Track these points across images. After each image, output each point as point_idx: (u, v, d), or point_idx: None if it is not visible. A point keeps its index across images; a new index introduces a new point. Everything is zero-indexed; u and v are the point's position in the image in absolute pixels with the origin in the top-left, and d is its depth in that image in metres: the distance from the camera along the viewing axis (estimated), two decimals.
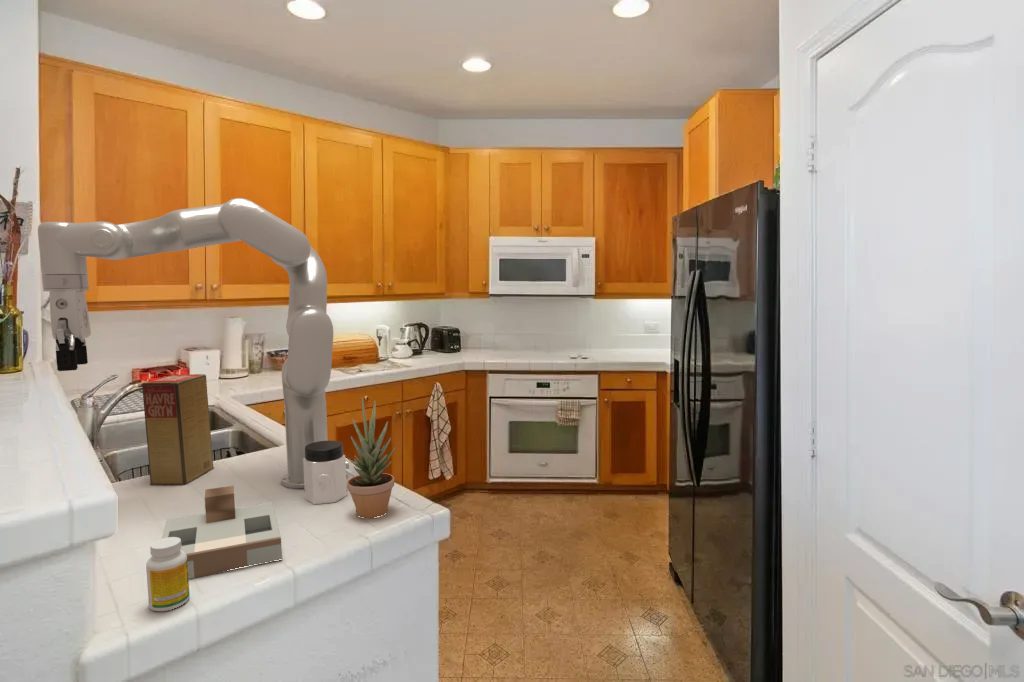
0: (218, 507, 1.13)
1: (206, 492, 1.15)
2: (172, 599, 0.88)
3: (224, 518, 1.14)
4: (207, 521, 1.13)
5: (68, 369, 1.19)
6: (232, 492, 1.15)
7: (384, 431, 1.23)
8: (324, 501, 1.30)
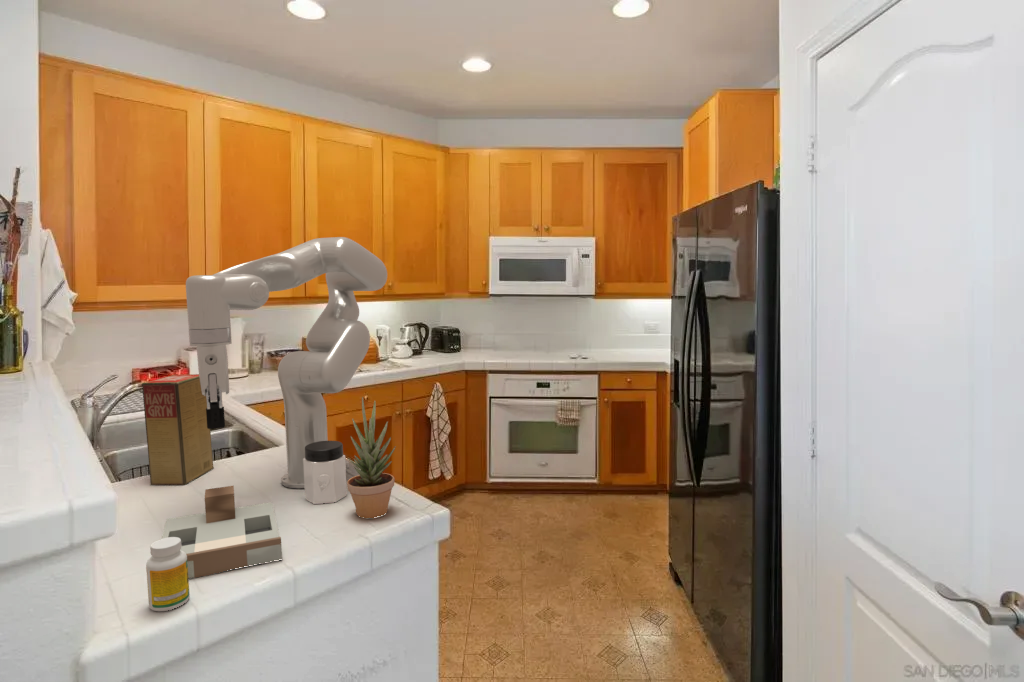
0: (218, 507, 1.13)
1: (206, 492, 1.15)
2: (172, 599, 0.88)
3: (224, 518, 1.14)
4: (207, 521, 1.13)
5: (216, 426, 1.20)
6: (232, 492, 1.15)
7: (384, 431, 1.23)
8: (324, 501, 1.30)
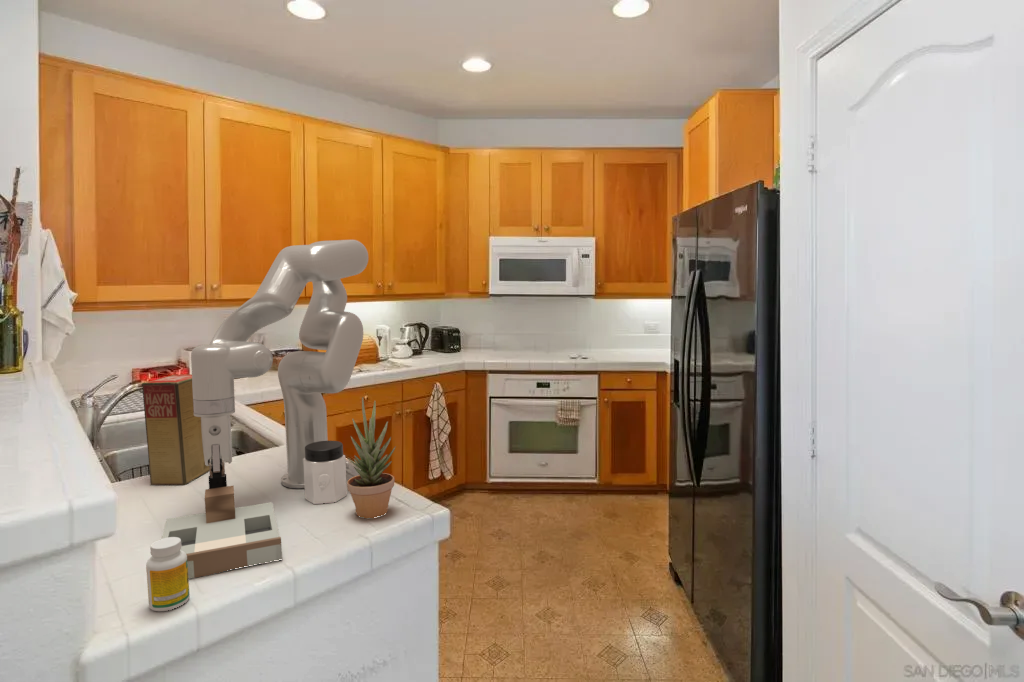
0: (218, 507, 1.13)
1: (206, 492, 1.15)
2: (172, 599, 0.88)
3: (224, 518, 1.14)
4: (207, 521, 1.13)
5: None
6: (232, 492, 1.15)
7: (384, 431, 1.23)
8: (324, 501, 1.30)
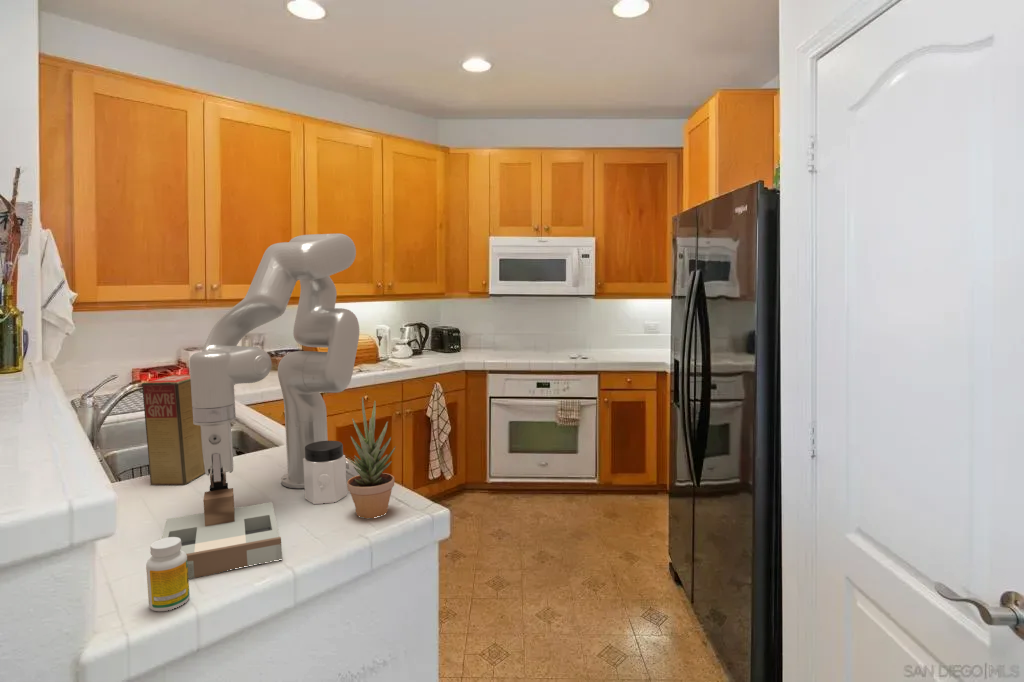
0: (217, 510, 1.12)
1: (205, 494, 1.14)
2: (172, 599, 0.88)
3: (223, 521, 1.13)
4: (206, 524, 1.11)
5: None
6: (231, 495, 1.13)
7: (384, 431, 1.23)
8: (324, 501, 1.30)
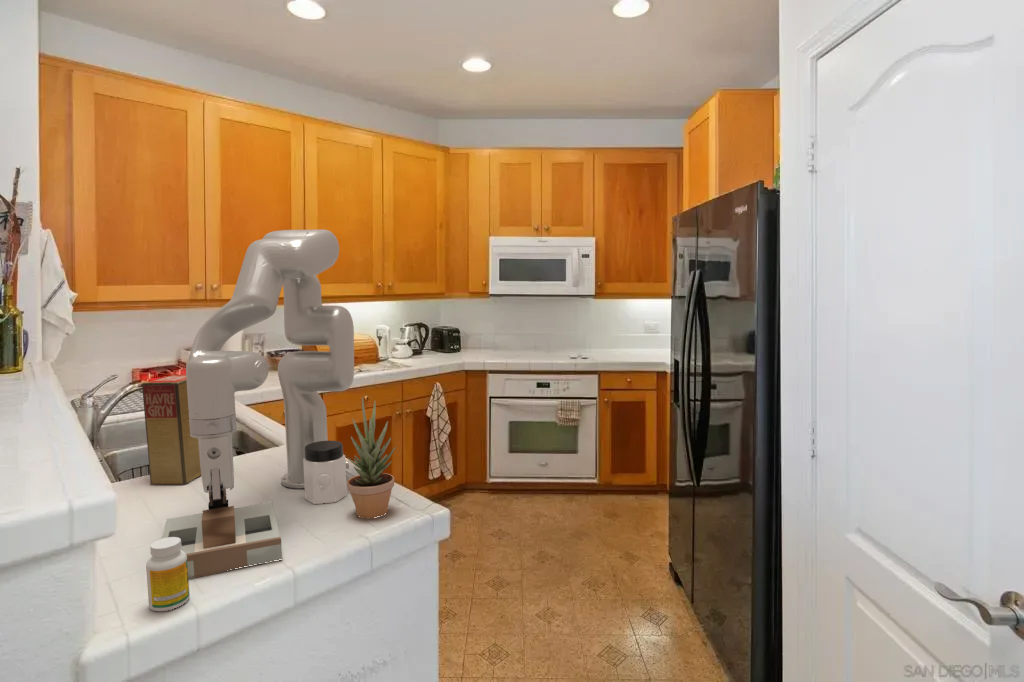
0: (216, 531, 1.03)
1: (203, 514, 1.04)
2: (172, 599, 0.88)
3: (223, 543, 1.03)
4: (204, 546, 1.02)
5: None
6: (232, 514, 1.04)
7: (384, 431, 1.23)
8: (324, 501, 1.30)
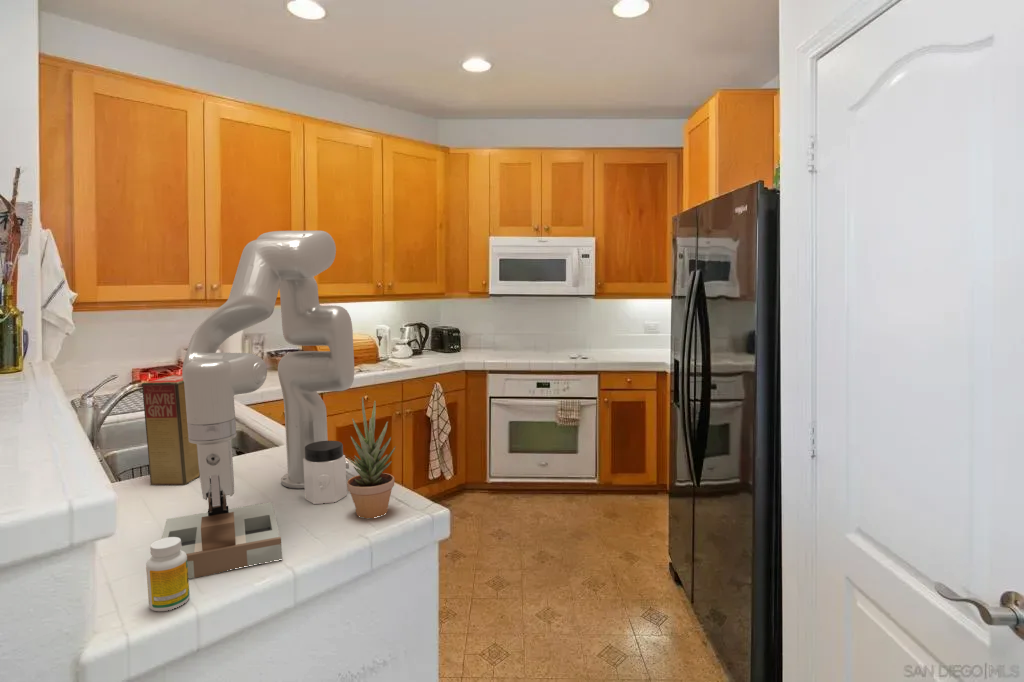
0: (216, 538, 1.00)
1: (203, 520, 1.01)
2: (172, 599, 0.88)
3: None
4: None
5: None
6: (232, 520, 1.01)
7: (384, 431, 1.23)
8: (324, 501, 1.30)
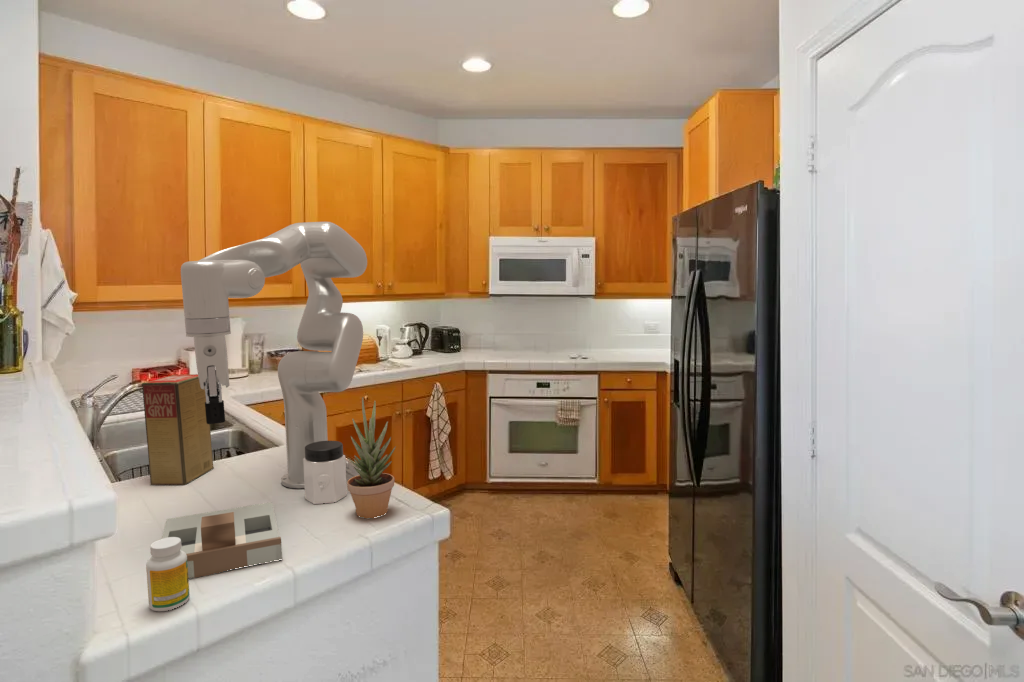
0: (216, 538, 1.00)
1: (203, 520, 1.01)
2: (172, 599, 0.88)
3: None
4: None
5: (216, 421, 1.14)
6: (232, 520, 1.01)
7: (384, 431, 1.23)
8: (324, 501, 1.30)
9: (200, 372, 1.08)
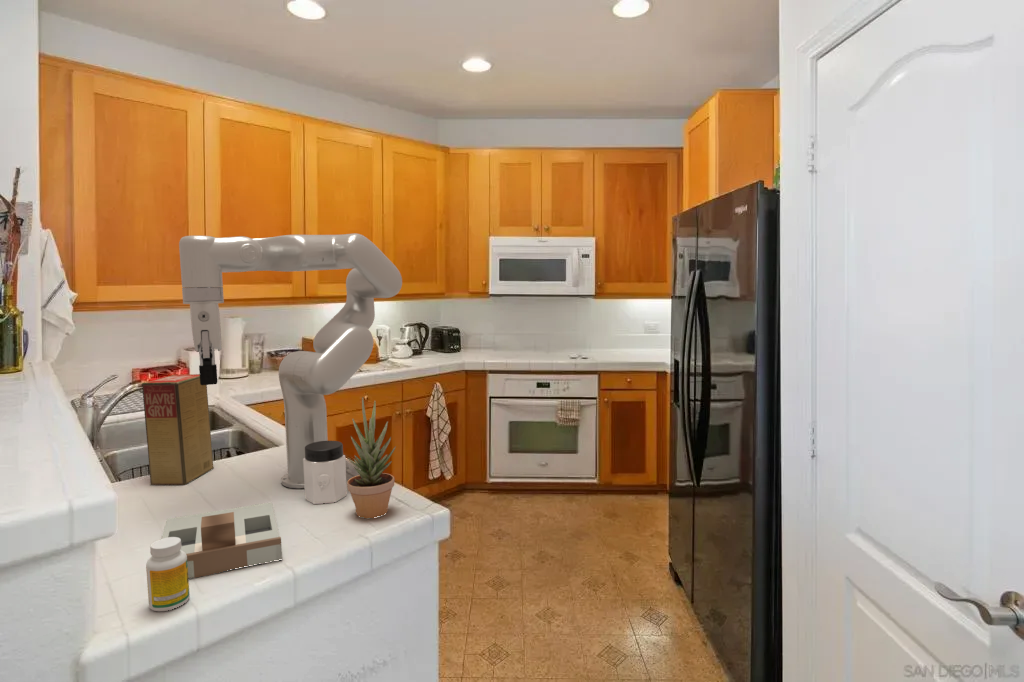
0: (216, 538, 1.00)
1: (203, 520, 1.01)
2: (172, 599, 0.88)
3: None
4: None
5: (209, 383, 1.25)
6: (232, 520, 1.01)
7: (384, 431, 1.23)
8: (324, 501, 1.30)
9: (194, 335, 1.19)
